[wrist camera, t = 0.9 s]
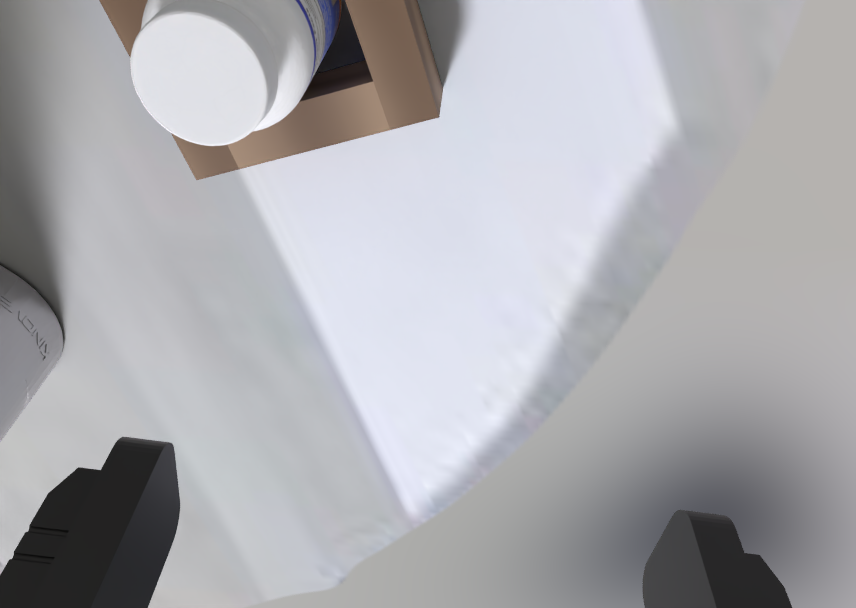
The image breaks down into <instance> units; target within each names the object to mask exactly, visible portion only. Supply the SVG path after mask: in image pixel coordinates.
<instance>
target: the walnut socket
mask: <svg viewBox="0 0 856 608" xmlns="http://www.w3.org/2000/svg"><path fill="white" fill-rule="evenodd" d="M99 1H100V2H101V4H102V6H103V8H104V10H105V12H106V14H107V15H108V17H109V19H110V21H111V23H112V25H113V26H114V28H115V30H116V32H117V34H118V36H119V38H120V39H121V41H122V43H123V45H124V47H125V49H126V51H127V52H128V54H129V56H130V58H131V52H132V48H133V44H134V41H135V39H136V37H137V35H138V33H139V32H140V30H141V25H142V18H143V13H144V10H145V6H146V4H147V1H148V0H99ZM345 2H346V4H347V7H348V10H349V13H350V16H351V19H352V22H353V25H354V27H355V30H356V33H357V36H358V39H359V42H360V45H361V48H362V51H363V53H364V56H365V59H366V60H364V61H361V62H357V63H354V64H350V65H347V66H343V67H340V68H336V69H333V70H329V71H326V72H322V73H319V74H315V75H314V76H313V78H312V80H311V82H310V84H309V86H308V88H307V90H306V91H305V93H304V95H303V96H302V98H301V99H300V101H299V103H298V104H297V105H296V107H295V108H294V109H293V110H292V111H291V112H290V113H289V114H288V115H287V116H286V117H285V118H283V119H282V120H281V121H279V122H277V123H275V124H274V125H272V126H270V127H267V128H265V129H262V130H258V131H252V132H251V133H250V134H249V135H247V136H246V137H244V138H243V139H241V140H239V141H237V142H234V143H231V144H227V145H221V146H206V145H200V144H195V143H192V142H189V141H186V140H184V139H182V138H180V137H178V136H176V135H174V134H172V133H171V134H172V136H173V138H174V139H175V141H176V143H177V145H178V147H179V149H180V150H181V152H182V154H183V156H184V158H185V160H186V162H187V163H188V165H189V167H190V169H191V171H192V173H193V175H194V176H195V178H196V180H199V179H203V178H207V177H211V176H215V175H218V174H222V173H226V172H230V171H234V170H238V169H241V168H245V167H249V166H253V165H257V164H261V163H265V162H268V161H272V160H276V159H280V158H284V157H288V156H292V155H295V154H299V153H303V152H307V151H311V150H315V149H318V148H322V147H326V146H330V145H334V144H338V143H342V142H345V141H349V140H353V139H357V138H361V137H365V136H369V135H372V134H376V133H380V132H384V131H388V130H392V129H396V128H399V127H403V126H407V125H411V124H415V123H419V122H422V121H426V120H430V119H434V118H438V117H439V114H440V107H441V99H442V92H443V87H442V84H441V80H440V77H439V74H438V70H437V67H436V63H435V60H434V56H433V53H432V50H431V46H430V43H429V39H428V36H427V32H426V29H425V26H424V22H423V19H422V15H421V12H420V8H419V5H418V2H417V0H345Z"/></svg>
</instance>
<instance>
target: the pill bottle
mask: <svg viewBox="0 0 856 608" xmlns="http://www.w3.org/2000/svg"><path fill="white" fill-rule="evenodd" d="M341 7H342V1H341V0H148V1H147V4H146V6H145V10H144V13H143V18H142V25H141V30H140V32H139V33H138V35H137V37H136V39H135V41H134V44H133V48H132V52H131V58H130V68H131V75H132V80H133V84H134V87H135V90H136V92H137V94H138V96H139V98H140V100H141V102H142V104H143V105H144V106H145V108H146V109H147V111H148V112H149V113H150V114H151V116H152V117H153V118H154V119H155V120H156V121H157V122H158V123H159V124H160V125H161V126H163V127H164V128H165V129H167V130H168V131H169V132H171V133H172V134H174V135H176V136H178V137H180V138H182V139H184V140H186V141H189V142H192V143H195V144H200V145H206V146H221V145H227V144H231V143H234V142H237V141H239V140H241V139H243V138H244V137H246V136H247V135H249V134H250V133H251V132H252V131H258V130H262V129H265V128H267V127H270V126H272V125H274V124H275V123H277V122H279V121H281V120H282V119H283V118H285V117H286V116H287V115H288V114H289V113H290V112H291V111H292V110H293V109H294V108H295V107H296V105H297V104H298V103H299V101H300V99H301V98H302V96H303V95H304V93H305V91H306V90H307V88H308V86H309V84H310V82H311V80H312V78H313V76H314V74H315V73H316V71H317V69H318V67H319V65H320V63H321V61H322V60H323V58H324V56H325V54H326V52H327V50H328V49H329V47H330V45H331V43H332V41H333V39H334V37H335V35H336V32H337V29H338V26H339V22H340V17H341Z"/></svg>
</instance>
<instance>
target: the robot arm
mask: <svg viewBox="0 0 856 608" xmlns="http://www.w3.org/2000/svg"><path fill="white" fill-rule="evenodd" d="M62 349H63V335H62V330H61V327H60V325H59V322H58V319H57V317H56V316H55V314H54V313H53V311H52V309H51V308H50V306H49V305H48V303H47V302H46V301H45V300H44V299H43V298H42V297H41V296H40V295H39V293H38V292H37V291H36V290H35V289H33V288H32V287H31V286H30V285H29V284H27V283H26V282H25V281H24V280H23V279H21V278H20V277H18V276H17V275H15V274H14V273H12V272H10V271H9V270H7V269H6V268H4V267H2V266H0V442H1V440H2V439H3V438H4V436H5V435H6V433H7V432H8V431H9V429H10V428H11V426H12V425H13V424H14V422H15V421H16V419H17V418H18V417H19V415H20V414H21V413H22V411H23V410H24V409H25V407H26V406H27V404H28V403H29V402H30V400H31V399H32V397H33V396H34V395H35V393H36V392H37V390H38V389H39V388H40V386H41V385H42V383H43V382H44V381H45V379H46V378H47V376H48V375H49V374H50V372H51V371H52V369H53V368H54V367H55V365H56V364H57V362H58V360H59V359H60V357H61V354H62ZM179 513H180V497H179V488H178V479H177V470H176V461H175V452H174V447H173V445H172V443H169V442H161V441H153V440H145V439H138V438H130V437H122V438H120V439H119V440H118V441H117V442H116V443H115V445H114V447H113V448H112V450H111V452H110V454H109V456H108V458H107V460H106V462H105V463H104V465H103V467H102V469H101V470H94V469H86V468H79V467H78V468H77V469H76V470H75V471H74V472H73V473H72V474H70V475H69V476H68V477H67V478H66V479H65V480H63V481H62V482H61V483H60V484H59V485H58V486H56V487H55V488H54V489H53V490H52V491H51V492H49V493H48V495H47V497H46V498H45V500H44V502H43V503H42V505H41V507H40V508H39V510H38V512H37V514H36V515H35V517H34V519H33V520H32V522H31V524H30V526H29V531H28V532H25V534H24V536H23V537H22V539H21V541H20V543H19V544H18V546H17V548H16V549H15V551H14V556H13V558H12V559H10V560H9V561H8V563H7V565H6V566H5V568H4V570H3V572H2V573H1V575H0V608H148V605H149V603H150V600H151V598H152V595H153V592H154V590H155V587H156V585H157V582H158V579H159V577H160V574H161V572H162V569H163V566H164V564H165V561H166V559H167V556H168V554H169V551H170V548H171V546H172V543H173V540H174V537H175V534H176V530H177V525H178V520H179ZM643 598H644V605H645V608H792V606H791V604H790V601H789V598H788V596H787V593H786V591H785V588H784V586H783V585H782V584H781V582H780V581H779V580H778V578H777V577H776V576H775V574H774V573H773V572H772V571H771V570H770V568H769V567H768V566H767V564H766V563H765V562H764V561H763V559H762V558H761V556H760V555H755V554H747V553H744V551H743V548H742V545H741V542H740V539H739V537H738V534H737V531H736V529H735V526H734V524H733V522H732V521H731V520H730V519H729V518H728V517H727V516H724V515H717V514H709V513H701V512H693V511H685V510H678V511H676V512H675V513H674V515H673V516H672V518H671V520H670V521H669V523H668V525H667V527H666V529H665V530H664V532H663V534H662V536H661V538H660V540H659V541H658V543H657V545H656V547H655V548H654V550H653V552H652V554H651V556H650V557H649V559H648V561H647V563H646V566H645V570H644V575H643Z"/></svg>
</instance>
